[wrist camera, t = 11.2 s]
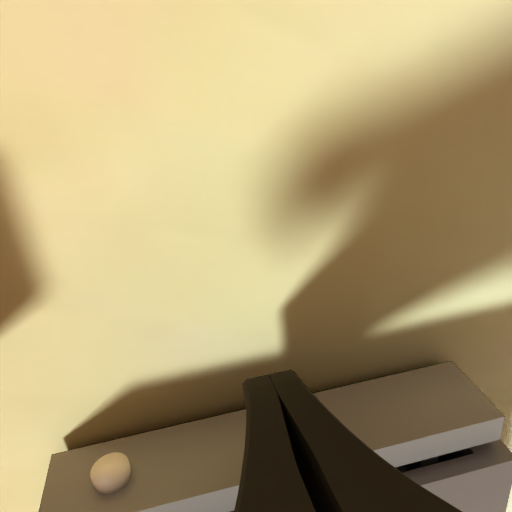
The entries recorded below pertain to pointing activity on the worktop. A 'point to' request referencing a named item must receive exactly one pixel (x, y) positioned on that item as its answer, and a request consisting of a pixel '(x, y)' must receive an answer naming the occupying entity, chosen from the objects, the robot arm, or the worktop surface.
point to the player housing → (470, 477)
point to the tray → (233, 443)
